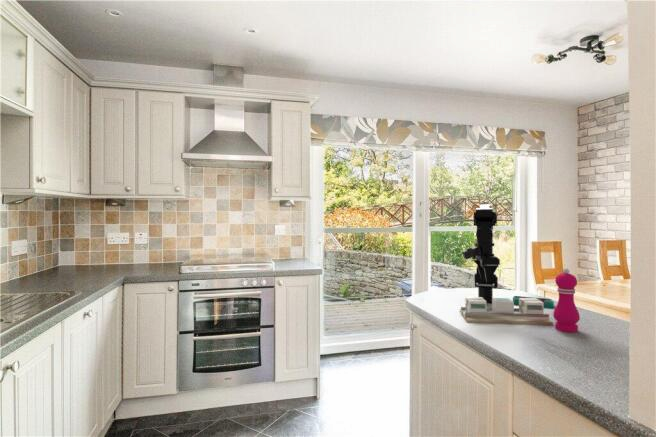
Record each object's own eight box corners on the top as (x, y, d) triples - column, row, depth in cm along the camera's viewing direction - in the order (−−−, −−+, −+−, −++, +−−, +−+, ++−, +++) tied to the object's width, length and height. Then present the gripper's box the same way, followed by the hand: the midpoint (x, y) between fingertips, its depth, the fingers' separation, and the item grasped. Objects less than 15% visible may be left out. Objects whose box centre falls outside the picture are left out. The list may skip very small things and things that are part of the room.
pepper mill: (571, 334, 116) (571, 270, 116) (548, 328, 123) (548, 268, 122) (584, 330, 120) (584, 269, 119) (561, 324, 126) (561, 266, 126)
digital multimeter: (554, 309, 147) (554, 302, 147) (512, 305, 154) (512, 298, 154) (553, 305, 153) (553, 298, 153) (512, 301, 160) (512, 295, 160)
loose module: (492, 311, 138) (492, 297, 138) (509, 311, 138) (509, 297, 137) (496, 314, 134) (495, 300, 133) (513, 315, 133) (513, 301, 132)
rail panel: (459, 311, 145) (459, 294, 145) (536, 313, 140) (536, 296, 140) (467, 322, 131) (466, 303, 131) (553, 324, 126) (552, 305, 126)
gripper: (458, 238, 155) (459, 275, 155) (468, 242, 137) (468, 284, 137) (486, 238, 153) (487, 276, 153) (500, 242, 135) (500, 285, 135)
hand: (485, 280), depth 145 cm, fingers open, 9 cm apart
